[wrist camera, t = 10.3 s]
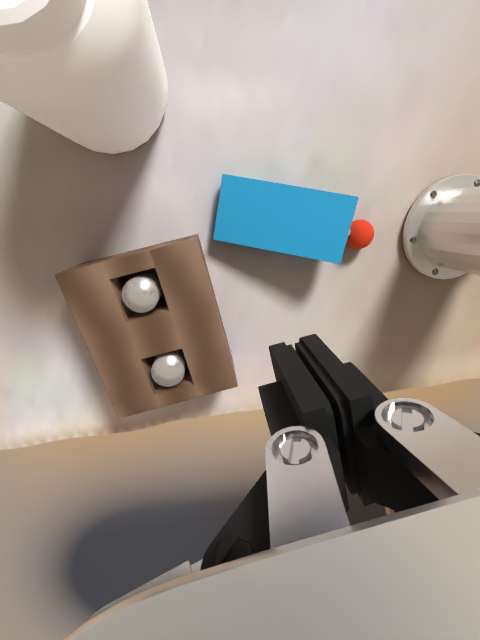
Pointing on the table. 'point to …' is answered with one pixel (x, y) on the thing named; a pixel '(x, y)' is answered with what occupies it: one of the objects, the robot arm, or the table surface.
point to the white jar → (84, 69)
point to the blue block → (289, 219)
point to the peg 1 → (142, 291)
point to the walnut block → (151, 325)
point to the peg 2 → (169, 368)
